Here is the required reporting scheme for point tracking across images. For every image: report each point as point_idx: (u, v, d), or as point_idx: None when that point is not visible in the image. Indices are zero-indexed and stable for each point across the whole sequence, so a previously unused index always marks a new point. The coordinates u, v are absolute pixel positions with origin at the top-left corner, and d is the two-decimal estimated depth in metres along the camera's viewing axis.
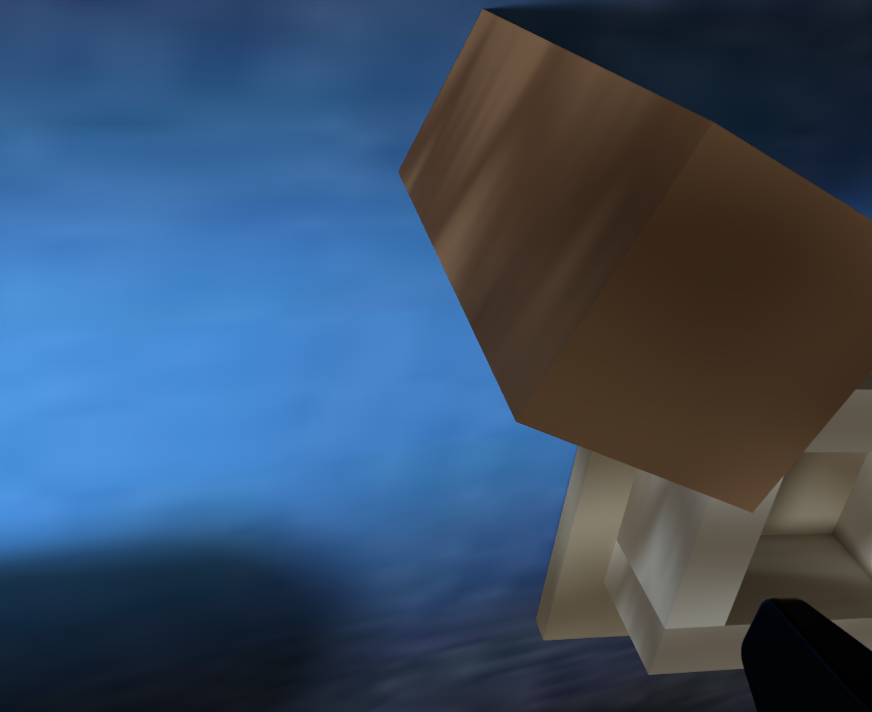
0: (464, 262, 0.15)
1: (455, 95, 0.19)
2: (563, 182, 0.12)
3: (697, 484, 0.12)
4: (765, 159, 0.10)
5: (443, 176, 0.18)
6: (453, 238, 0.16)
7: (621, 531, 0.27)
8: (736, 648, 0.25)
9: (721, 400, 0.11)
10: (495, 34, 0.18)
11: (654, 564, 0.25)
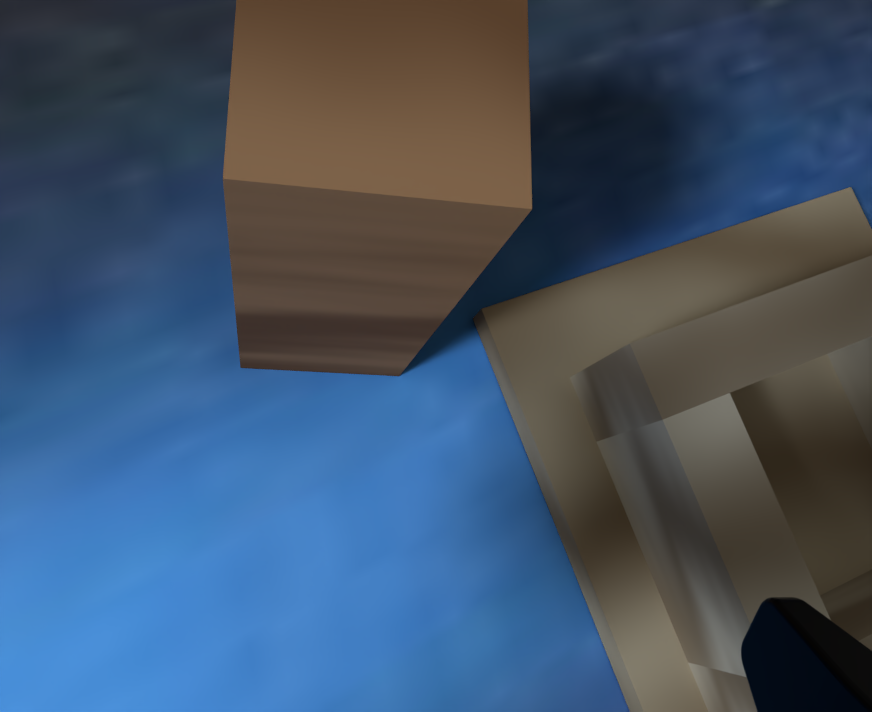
0: None
1: None
2: None
3: (450, 193, 0.12)
4: None
5: None
6: None
7: (683, 645, 0.22)
8: None
9: (410, 106, 0.12)
10: None
11: (719, 627, 0.20)
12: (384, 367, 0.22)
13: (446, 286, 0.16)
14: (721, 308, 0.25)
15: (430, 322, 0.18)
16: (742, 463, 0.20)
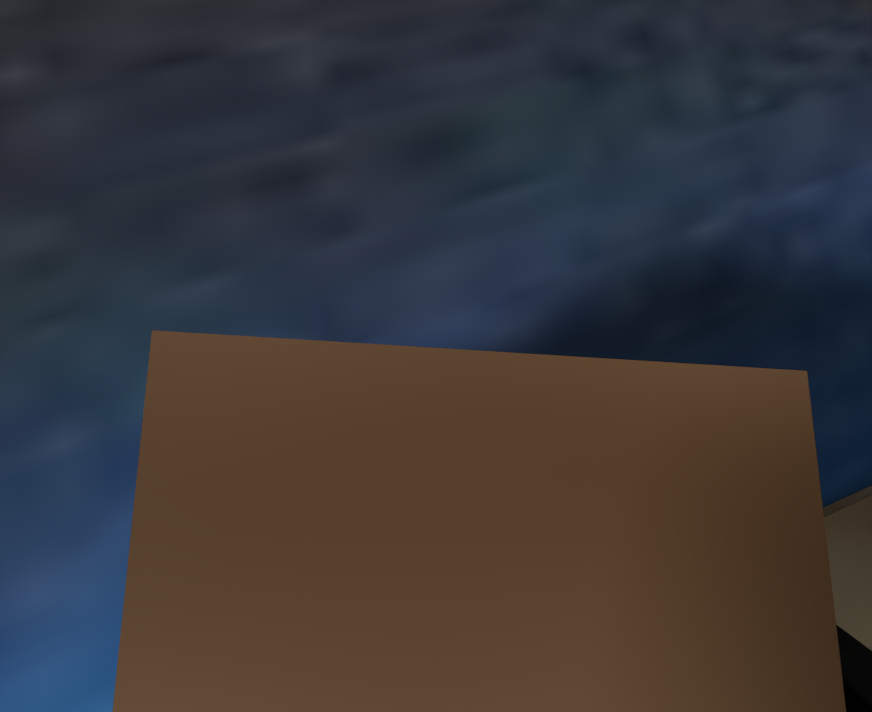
0: None
1: None
2: None
3: None
4: (296, 345, 0.05)
5: None
6: None
7: None
8: None
9: None
10: None
11: None
12: None
13: None
14: None
15: None
16: None
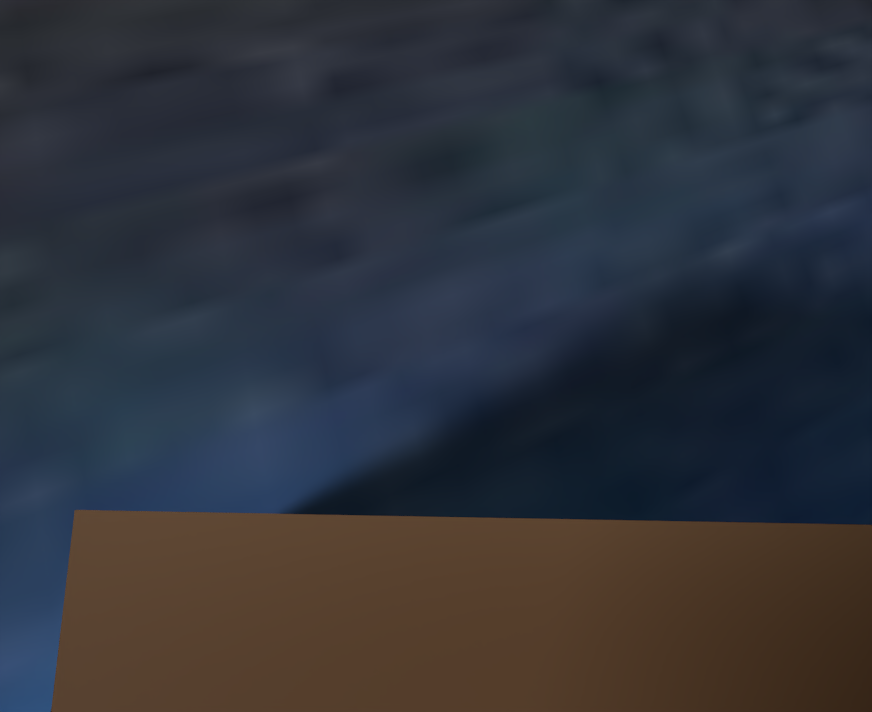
0: None
1: None
2: None
3: None
4: (273, 524, 0.04)
5: None
6: None
7: None
8: None
9: None
10: None
11: None
12: None
13: None
14: None
15: None
16: None
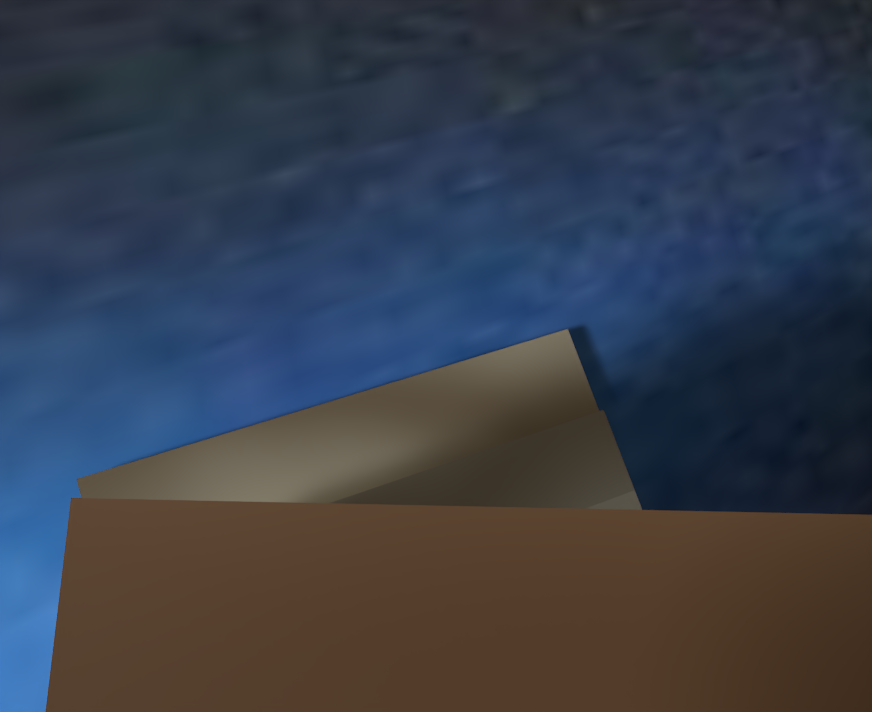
0: None
1: None
2: None
3: None
4: (268, 512, 0.04)
5: None
6: None
7: None
8: None
9: None
10: None
11: None
12: None
13: None
14: (383, 475, 0.22)
15: None
16: None
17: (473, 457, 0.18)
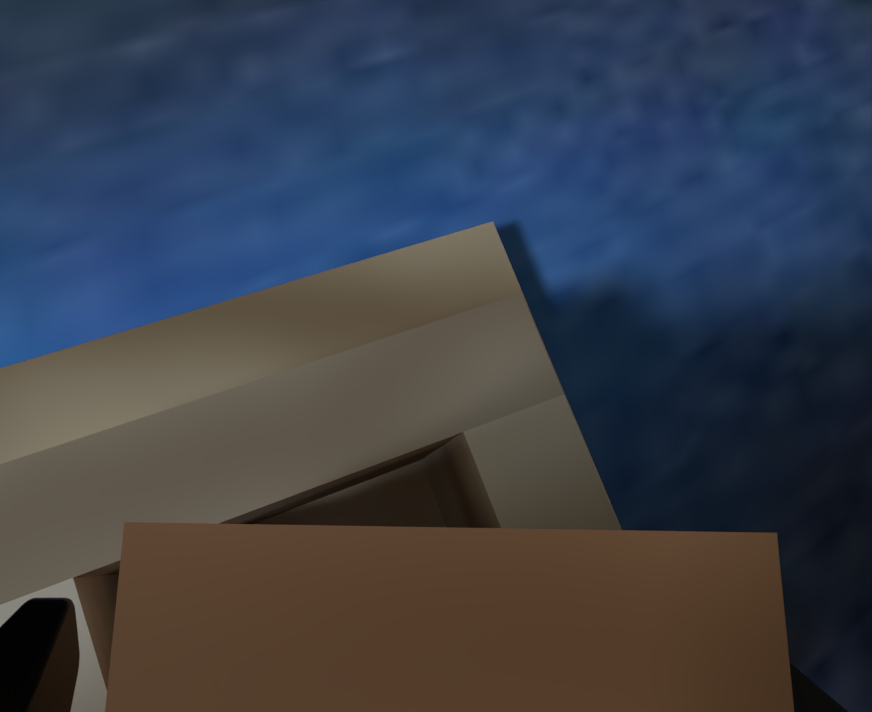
0: None
1: None
2: None
3: None
4: (268, 532, 0.05)
5: None
6: None
7: None
8: None
9: None
10: None
11: None
12: None
13: None
14: None
15: None
16: (72, 701, 0.12)
17: (346, 355, 0.14)
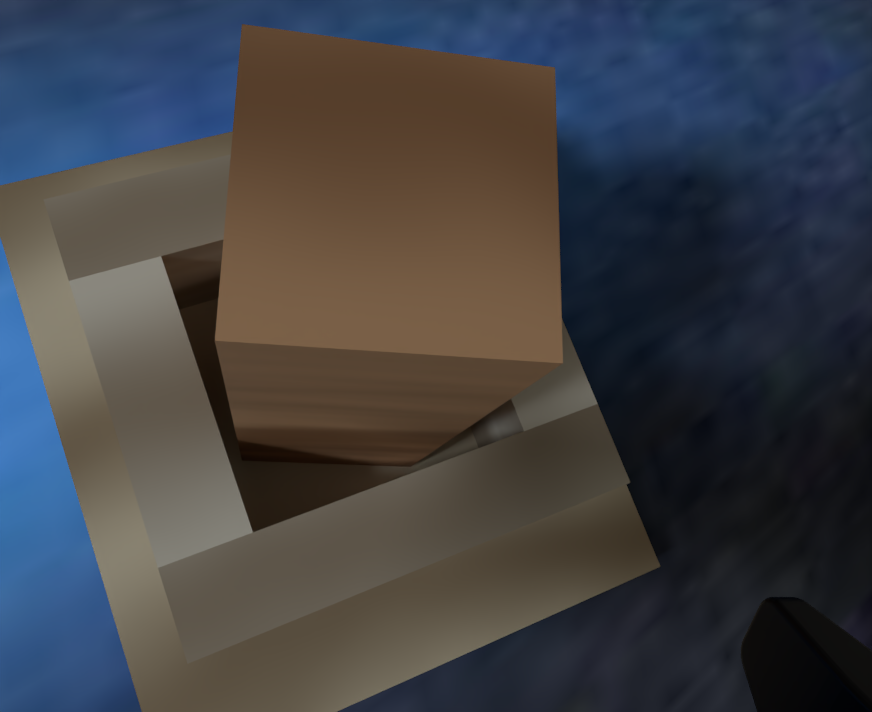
0: None
1: None
2: None
3: (470, 348, 0.11)
4: (306, 35, 0.11)
5: None
6: None
7: None
8: (302, 566, 0.17)
9: (426, 248, 0.11)
10: None
11: None
12: (394, 461, 0.21)
13: (463, 412, 0.14)
14: None
15: (444, 434, 0.17)
16: (162, 330, 0.18)
17: None
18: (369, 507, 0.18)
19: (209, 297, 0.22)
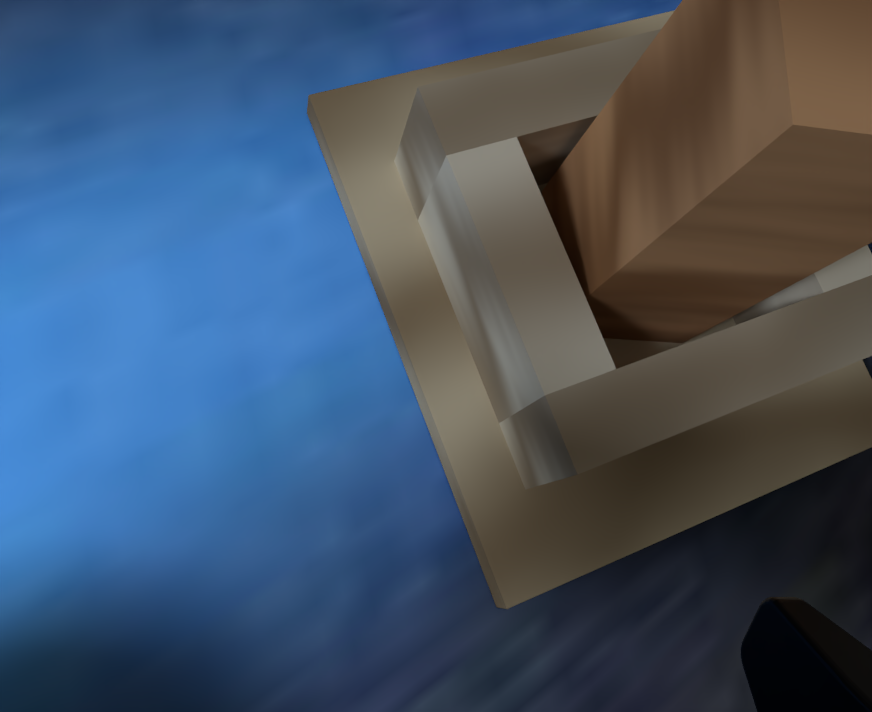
0: (655, 216, 0.17)
1: None
2: (693, 68, 0.16)
3: None
4: None
5: (588, 254, 0.21)
6: (632, 235, 0.18)
7: (494, 406, 0.23)
8: (658, 398, 0.20)
9: None
10: (562, 175, 0.23)
11: (508, 363, 0.21)
12: (680, 333, 0.24)
13: (853, 239, 0.17)
14: None
15: (788, 280, 0.19)
16: (525, 199, 0.20)
17: (651, 34, 0.23)
18: (706, 351, 0.20)
19: None
